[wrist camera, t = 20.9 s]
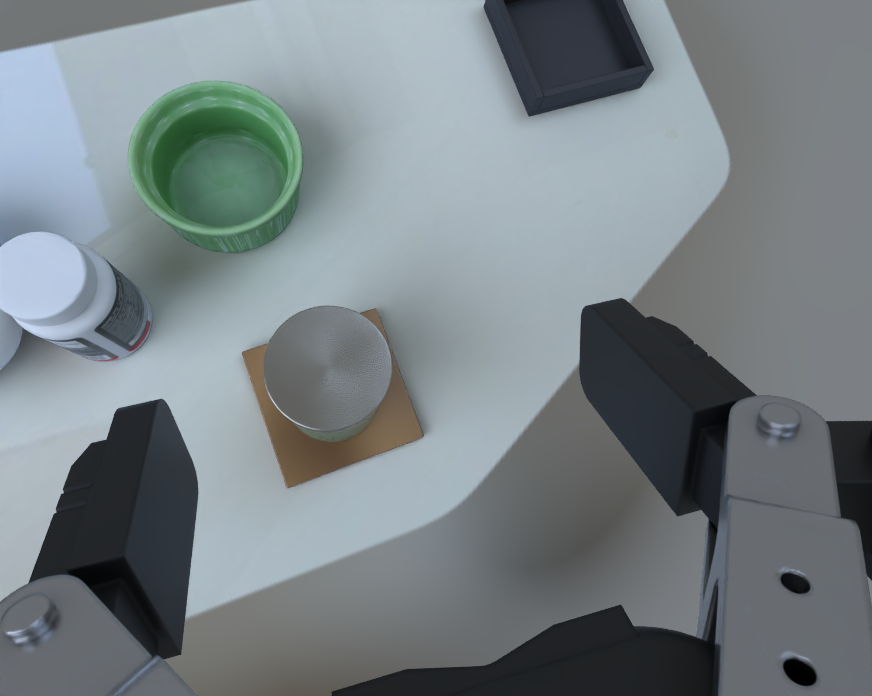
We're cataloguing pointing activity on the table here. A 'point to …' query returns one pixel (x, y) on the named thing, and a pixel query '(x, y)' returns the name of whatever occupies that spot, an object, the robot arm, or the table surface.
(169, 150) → the ramekin
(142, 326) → the pill bottle
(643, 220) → the table surface
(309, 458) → the coaster
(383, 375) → the tin
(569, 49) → the tray
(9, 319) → the earbud case
